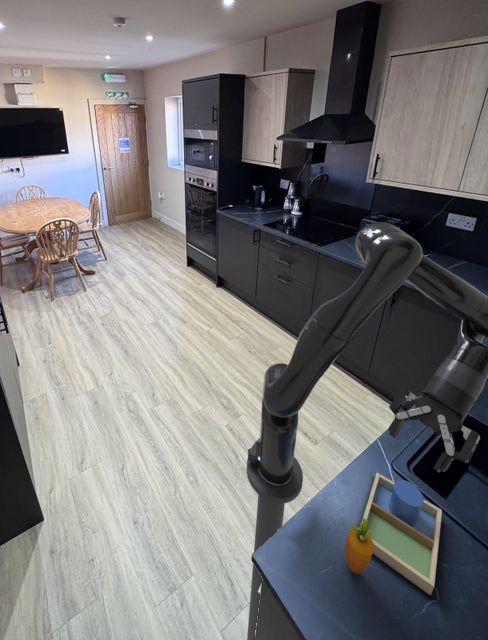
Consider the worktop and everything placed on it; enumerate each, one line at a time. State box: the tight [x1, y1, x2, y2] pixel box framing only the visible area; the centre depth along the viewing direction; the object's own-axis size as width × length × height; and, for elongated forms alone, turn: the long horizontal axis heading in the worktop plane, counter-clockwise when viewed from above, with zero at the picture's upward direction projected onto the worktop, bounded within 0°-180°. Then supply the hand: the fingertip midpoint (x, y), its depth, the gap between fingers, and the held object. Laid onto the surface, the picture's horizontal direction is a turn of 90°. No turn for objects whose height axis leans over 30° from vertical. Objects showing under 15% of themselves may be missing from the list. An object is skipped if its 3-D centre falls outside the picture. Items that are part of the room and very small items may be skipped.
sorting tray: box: [361, 472, 443, 596], centre depth 76 cm, size 14×18×3 cm
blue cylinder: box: [389, 479, 425, 526], centre depth 78 cm, size 6×6×7 cm
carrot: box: [345, 517, 374, 575], centre depth 67 cm, size 5×5×15 cm
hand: (412, 452), depth 66 cm, fingers open, 8 cm apart
